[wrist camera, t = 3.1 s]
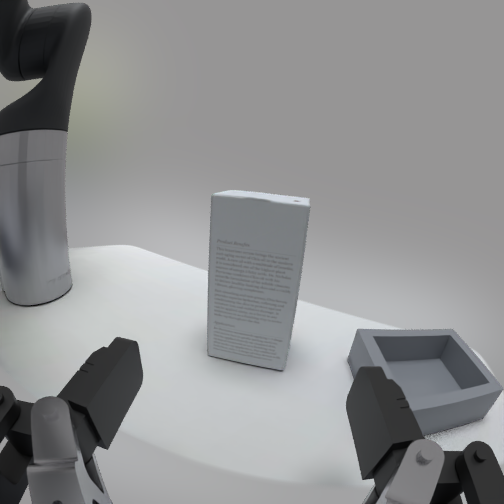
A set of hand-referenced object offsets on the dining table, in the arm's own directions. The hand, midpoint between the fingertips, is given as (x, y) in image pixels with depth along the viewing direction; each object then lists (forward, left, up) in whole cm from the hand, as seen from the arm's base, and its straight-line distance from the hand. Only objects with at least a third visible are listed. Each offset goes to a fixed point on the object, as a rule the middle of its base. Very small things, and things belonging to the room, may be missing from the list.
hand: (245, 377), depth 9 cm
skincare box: (0, +11, -7) cm, 13 cm away
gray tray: (+13, +6, -7) cm, 16 cm away
